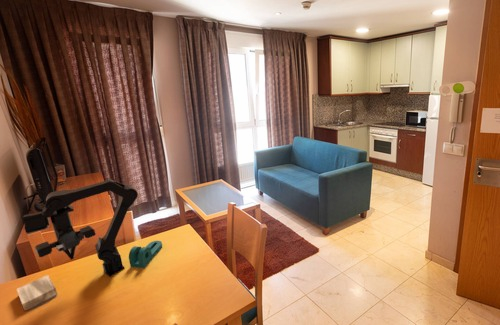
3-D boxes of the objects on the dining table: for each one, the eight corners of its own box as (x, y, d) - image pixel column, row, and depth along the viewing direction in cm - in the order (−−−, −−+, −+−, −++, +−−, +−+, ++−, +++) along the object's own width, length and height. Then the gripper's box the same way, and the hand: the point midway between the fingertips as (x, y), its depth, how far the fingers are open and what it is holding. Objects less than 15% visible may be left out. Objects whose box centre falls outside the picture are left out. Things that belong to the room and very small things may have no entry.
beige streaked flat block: (47, 274, 107) (16, 289, 100) (55, 287, 100) (22, 304, 93) (49, 280, 108) (18, 295, 101) (57, 294, 101) (24, 310, 93)
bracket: (144, 268, 113) (141, 253, 111) (130, 267, 115) (127, 252, 112) (164, 245, 130) (162, 231, 128) (152, 244, 132) (150, 230, 129)
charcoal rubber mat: (47, 280, 108) (47, 280, 108) (56, 296, 100) (56, 296, 99) (23, 292, 103) (23, 291, 103) (30, 310, 94) (30, 309, 94)
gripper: (36, 242, 86) (48, 281, 91) (96, 220, 100) (104, 254, 104) (29, 232, 94) (41, 268, 98) (86, 212, 107) (94, 245, 111)
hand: (71, 258), depth 103 cm, fingers closed
